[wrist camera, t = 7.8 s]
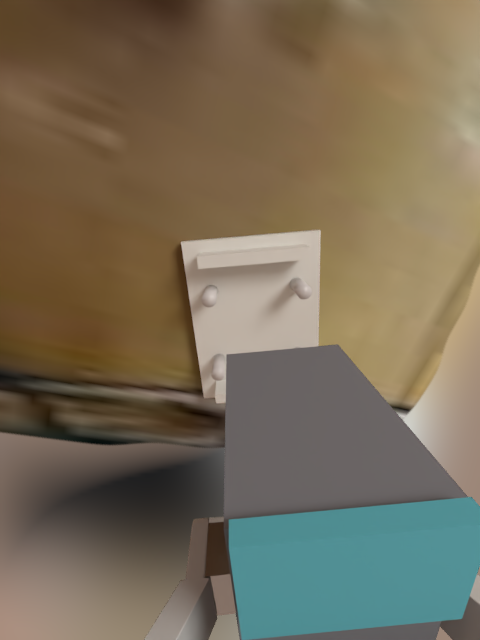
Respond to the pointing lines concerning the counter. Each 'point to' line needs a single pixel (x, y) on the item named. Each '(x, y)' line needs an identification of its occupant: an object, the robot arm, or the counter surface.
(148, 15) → the counter surface
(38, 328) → the counter surface
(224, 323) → the pin tray
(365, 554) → the block
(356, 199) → the counter surface
